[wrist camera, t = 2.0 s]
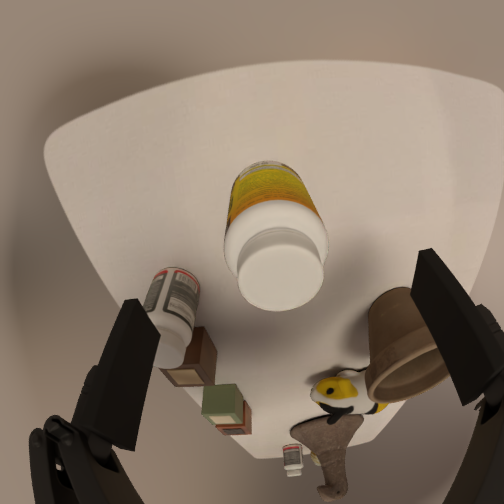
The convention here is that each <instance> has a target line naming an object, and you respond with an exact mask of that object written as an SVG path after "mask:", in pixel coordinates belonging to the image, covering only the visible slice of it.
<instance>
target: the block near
mask: <svg viewBox="0 0 504 504" xmlns="http://www.w3.org/2000/svg"><path fill="white" fill-rule="evenodd" d="M216 360H217V350H216V348H215V346H214V344H213V342H212V341H211V339H210V337H209V335H208V333H207V331H206V329H205V327H195V328H193V334H192V338H191V341H190V343H189V345H188V346H187V347H186V352H185V356H184V361H183V363H182V365H180V366H179V367H177V368H173V369H163V368H159V369H160V370H161V372H163V374H164V375H165V376H166V377H167V378H168V380H169V381H170V382H171V383H172V384H173V385H174V386H176V387H194V386H214V385H215V373H216Z"/></svg>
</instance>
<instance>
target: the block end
mask: <svg viewBox="0 0 504 504" xmlns="http://www.w3.org/2000/svg"><path fill="white" fill-rule="evenodd" d="M216 428H217V429H218V430H219V431H220V432H221V433H222V434H223V435H247V434H252V422H251V409H250V408H249V406H248V404H247V403H246V401H243V424H216Z"/></svg>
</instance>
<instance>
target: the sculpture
mask: <svg viewBox="0 0 504 504" xmlns="http://www.w3.org/2000/svg"><path fill="white" fill-rule="evenodd" d="M329 417H330V416H327V417H323V418H318V419H315V420H311V421H308V422H305V423H302V424H299V425H297V426H295V427H294V428H293V429H292V430H291V432H290V435H291V437H292V438H294V439H296V440H298V441H299V442H301V443H302V444H304V445H305V446H306V447H308V448H309V449H310V450H311V451H313V452H314V453H315V454H316V456H317V458H318V460H319V462H320V464H321V467H322V470H323V474H324V478H325V485H321V486H318V487H317V490H318V493H319V495H320V497H321V498H322V499H323V500H324V501H326V502H331V501H334V500H338V499H341V498H343V497H344V496H345V495H346V493H347V490H348V483H347V478H346V472H345V453H346V448H347V446H348V444H349V442H350V440H351V439H352V437H353V435H354V433H355V432H356V430H357V429H358V428H359V427H360V425H361V424H362V423H363V421H364V418H363V416H361V415H360V414H344V415H343V416H342V417H341V418H340V419H339V420H338V421H337V422H336V423H335V424H332V425H328V424H327V419H328V418H329Z"/></svg>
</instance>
